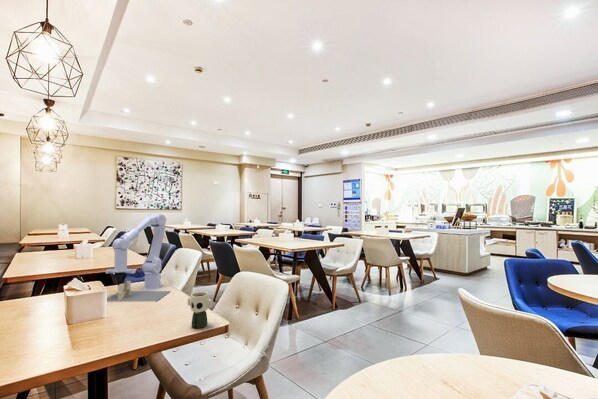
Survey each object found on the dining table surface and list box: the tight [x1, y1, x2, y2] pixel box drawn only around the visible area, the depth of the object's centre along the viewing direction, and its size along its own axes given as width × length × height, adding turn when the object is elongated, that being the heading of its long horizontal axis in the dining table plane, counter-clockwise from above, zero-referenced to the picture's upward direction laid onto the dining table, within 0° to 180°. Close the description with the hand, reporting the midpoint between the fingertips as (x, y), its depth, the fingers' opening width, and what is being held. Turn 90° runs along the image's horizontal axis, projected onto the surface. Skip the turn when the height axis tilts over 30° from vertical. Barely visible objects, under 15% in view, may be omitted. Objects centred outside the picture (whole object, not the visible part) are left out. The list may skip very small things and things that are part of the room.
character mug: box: [187, 291, 213, 329], centre depth 121 cm, size 11×7×13 cm, turn 78°
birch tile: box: [117, 280, 132, 300], centre depth 157 cm, size 9×2×8 cm, turn 2°
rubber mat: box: [106, 290, 171, 303], centre depth 159 cm, size 18×28×1 cm, turn 92°
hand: (120, 286), depth 157 cm, fingers closed
